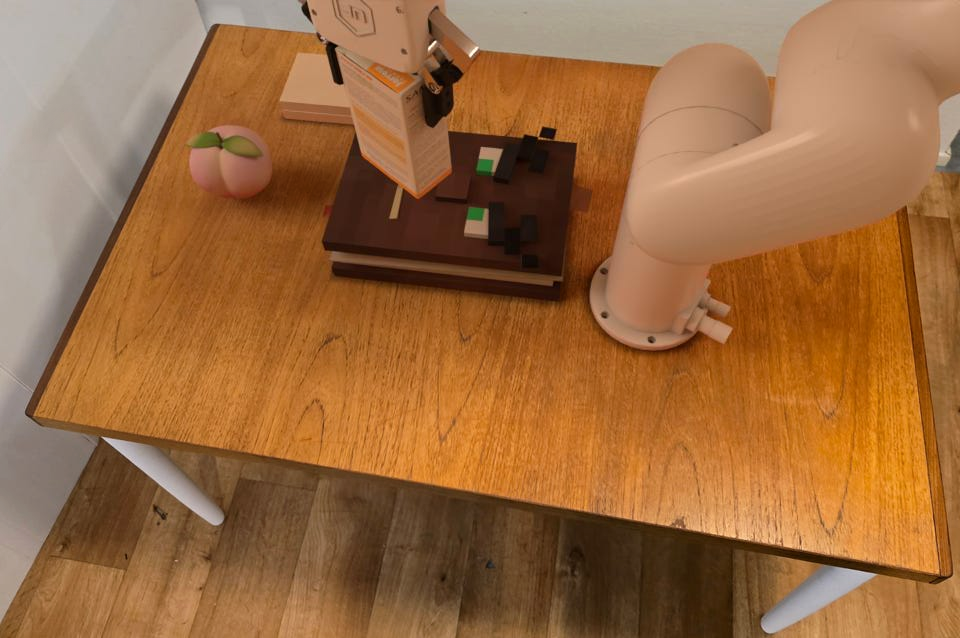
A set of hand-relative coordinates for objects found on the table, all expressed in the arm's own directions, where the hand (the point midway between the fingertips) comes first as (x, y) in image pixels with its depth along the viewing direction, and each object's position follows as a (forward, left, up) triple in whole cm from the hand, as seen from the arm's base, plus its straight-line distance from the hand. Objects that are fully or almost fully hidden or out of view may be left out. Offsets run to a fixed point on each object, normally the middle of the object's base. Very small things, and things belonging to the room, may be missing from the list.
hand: (393, 94), depth 63 cm
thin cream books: (+24, -15, -24) cm, 37 cm away
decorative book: (-1, -6, -25) cm, 25 cm away
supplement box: (0, 0, -9) cm, 9 cm away
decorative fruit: (+24, +3, -25) cm, 34 cm away
